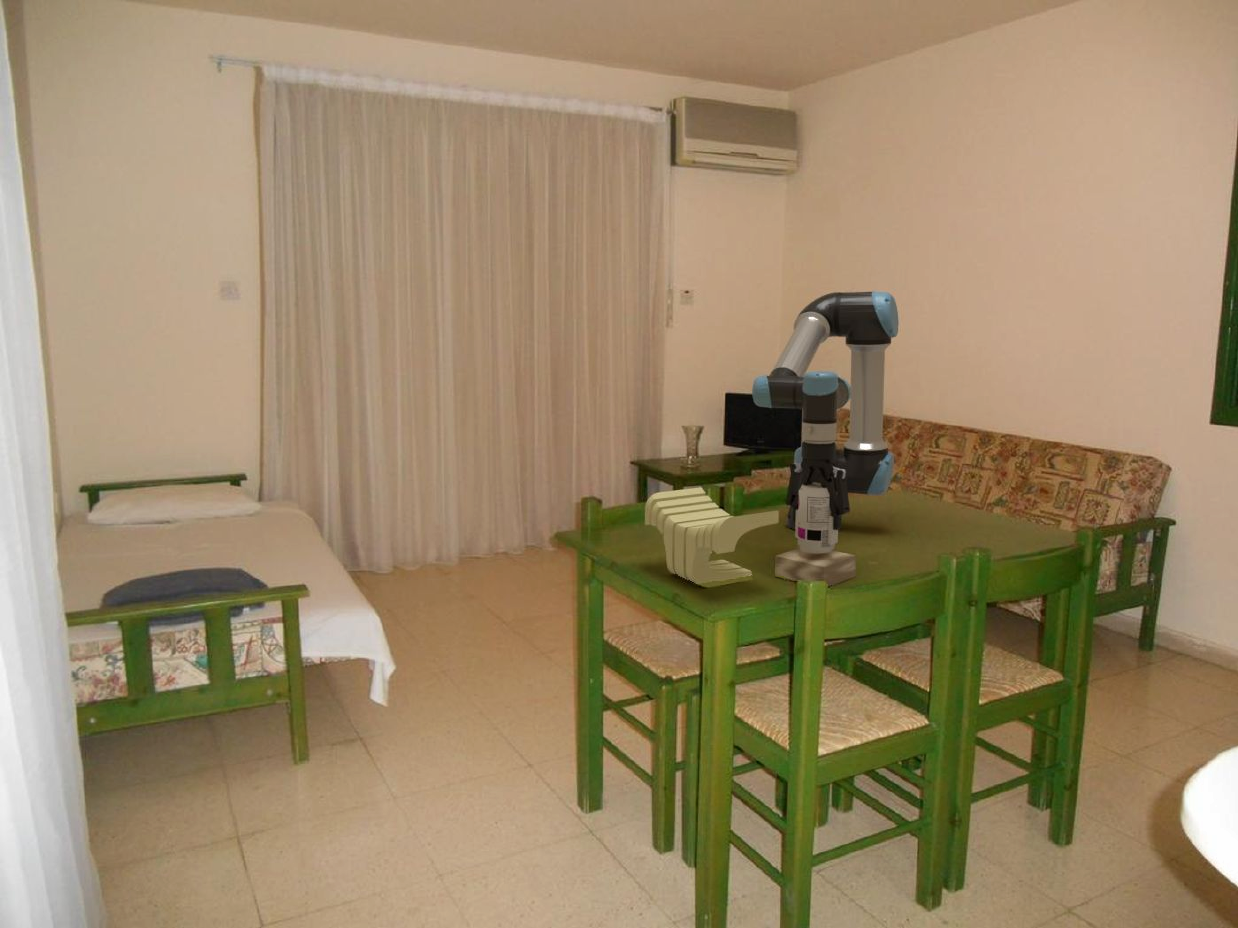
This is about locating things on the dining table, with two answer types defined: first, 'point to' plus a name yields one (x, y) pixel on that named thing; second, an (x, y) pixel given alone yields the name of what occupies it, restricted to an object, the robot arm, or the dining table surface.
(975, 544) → the dining table surface
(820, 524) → the supplement can
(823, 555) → the birch plinth
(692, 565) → the slatted curved stool
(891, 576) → the dining table surface
